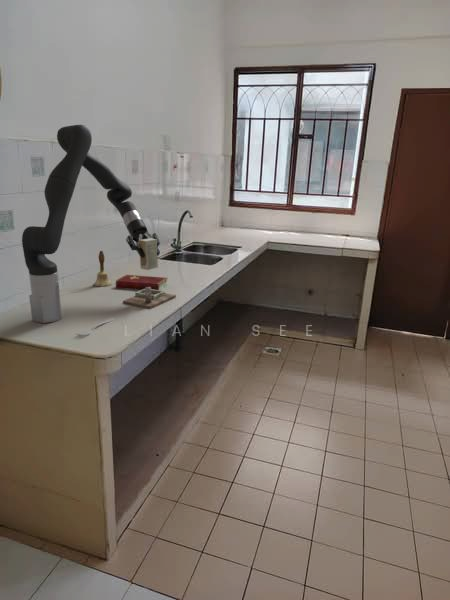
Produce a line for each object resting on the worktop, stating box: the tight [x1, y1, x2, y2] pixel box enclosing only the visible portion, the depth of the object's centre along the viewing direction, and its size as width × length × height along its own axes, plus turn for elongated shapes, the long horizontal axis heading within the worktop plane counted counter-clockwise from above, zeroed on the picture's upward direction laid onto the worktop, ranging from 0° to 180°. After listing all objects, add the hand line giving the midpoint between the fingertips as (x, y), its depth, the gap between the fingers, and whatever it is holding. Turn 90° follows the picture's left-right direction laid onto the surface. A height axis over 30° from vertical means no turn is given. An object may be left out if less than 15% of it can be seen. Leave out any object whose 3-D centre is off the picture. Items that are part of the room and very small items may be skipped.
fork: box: [74, 317, 115, 336], centre depth 148 cm, size 3×24×2 cm, turn 162°
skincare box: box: [139, 237, 159, 271], centre depth 176 cm, size 6×4×12 cm
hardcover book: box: [115, 274, 169, 291], centre depth 198 cm, size 12×21×4 cm, turn 78°
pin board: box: [122, 287, 177, 309], centre depth 177 cm, size 18×14×7 cm
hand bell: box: [93, 250, 113, 287], centre depth 198 cm, size 8×8×16 cm
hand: (151, 255), depth 175 cm, fingers closed on skincare box, 6 cm apart
